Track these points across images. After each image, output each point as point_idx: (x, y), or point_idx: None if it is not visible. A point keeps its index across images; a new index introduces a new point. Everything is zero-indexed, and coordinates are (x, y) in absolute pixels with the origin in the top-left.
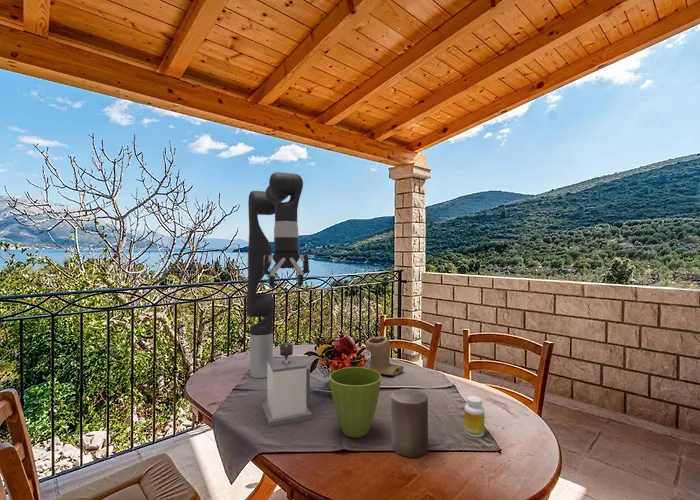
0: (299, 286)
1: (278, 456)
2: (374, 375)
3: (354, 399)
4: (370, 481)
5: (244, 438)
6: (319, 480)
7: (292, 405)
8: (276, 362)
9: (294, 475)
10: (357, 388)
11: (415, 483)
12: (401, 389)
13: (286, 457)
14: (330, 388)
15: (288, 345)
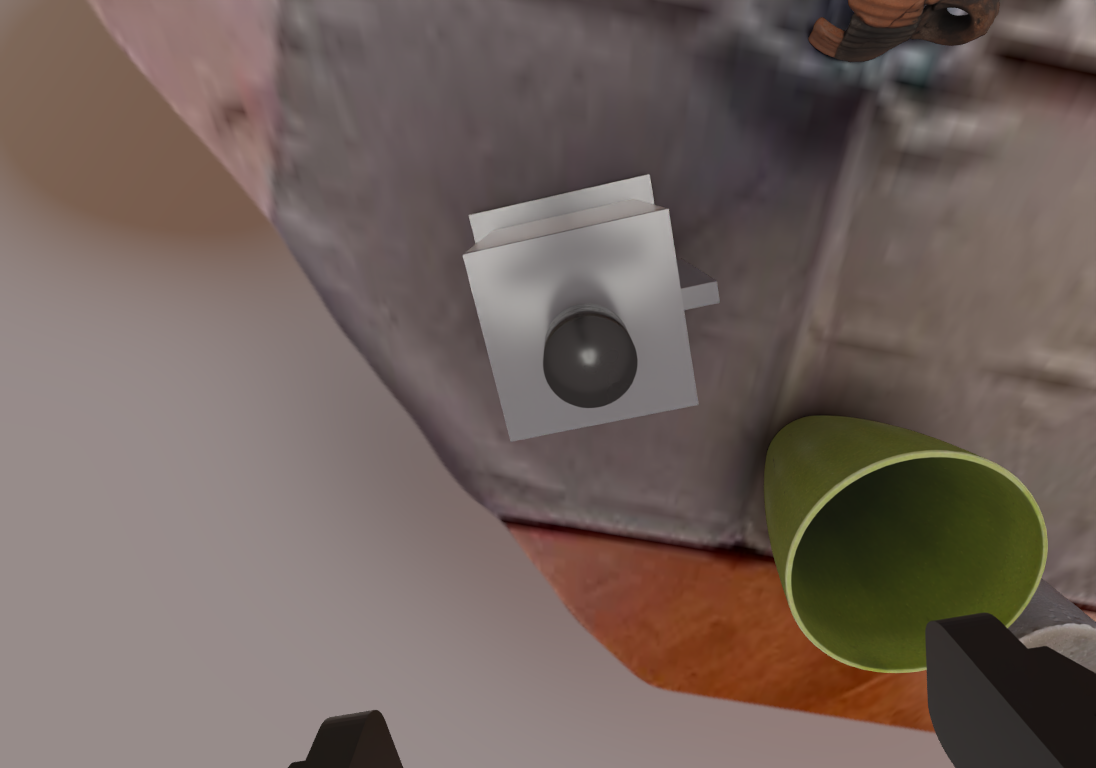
0: (943, 736)
1: (549, 543)
2: (1021, 516)
3: (842, 621)
4: (769, 670)
5: (434, 435)
6: (649, 648)
7: None
8: (524, 323)
9: (590, 622)
10: (874, 663)
11: (870, 692)
12: (1062, 629)
13: (571, 551)
14: (821, 46)
15: (605, 390)
